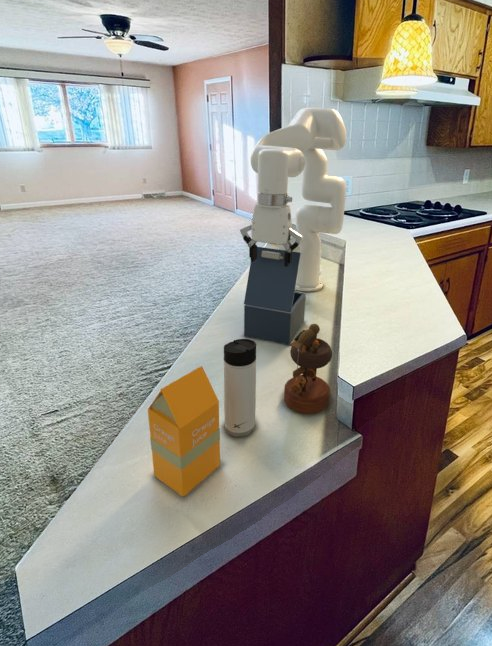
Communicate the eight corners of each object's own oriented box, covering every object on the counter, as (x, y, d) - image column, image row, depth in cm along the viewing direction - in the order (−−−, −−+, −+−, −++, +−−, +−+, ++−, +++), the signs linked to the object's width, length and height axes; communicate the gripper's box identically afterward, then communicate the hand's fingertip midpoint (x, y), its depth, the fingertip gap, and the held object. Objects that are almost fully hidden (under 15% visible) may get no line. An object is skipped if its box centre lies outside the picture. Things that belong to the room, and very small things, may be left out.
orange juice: (153, 475, 72) (143, 380, 65) (191, 446, 79) (187, 357, 72) (183, 498, 69) (177, 399, 61) (221, 465, 75) (219, 373, 68)
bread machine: (263, 314, 135) (263, 286, 131) (303, 321, 132) (305, 293, 128) (244, 336, 121) (244, 305, 117) (289, 345, 118) (290, 313, 114)
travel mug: (240, 443, 81) (241, 355, 73) (218, 427, 85) (216, 343, 77) (262, 426, 86) (264, 343, 78) (240, 412, 89) (240, 331, 82)
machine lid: (254, 246, 117) (247, 243, 112) (301, 252, 114) (296, 250, 109) (244, 304, 117) (237, 303, 112) (291, 312, 114) (286, 312, 109)
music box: (320, 424, 87) (320, 341, 80) (273, 414, 91) (269, 333, 84) (340, 385, 101) (341, 311, 94) (298, 377, 104) (296, 305, 97)
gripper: (308, 200, 107) (304, 263, 113) (246, 194, 110) (246, 254, 117) (300, 205, 100) (296, 271, 106) (235, 198, 104) (235, 262, 110)
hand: (270, 262), depth 112 cm, fingers open, 9 cm apart
